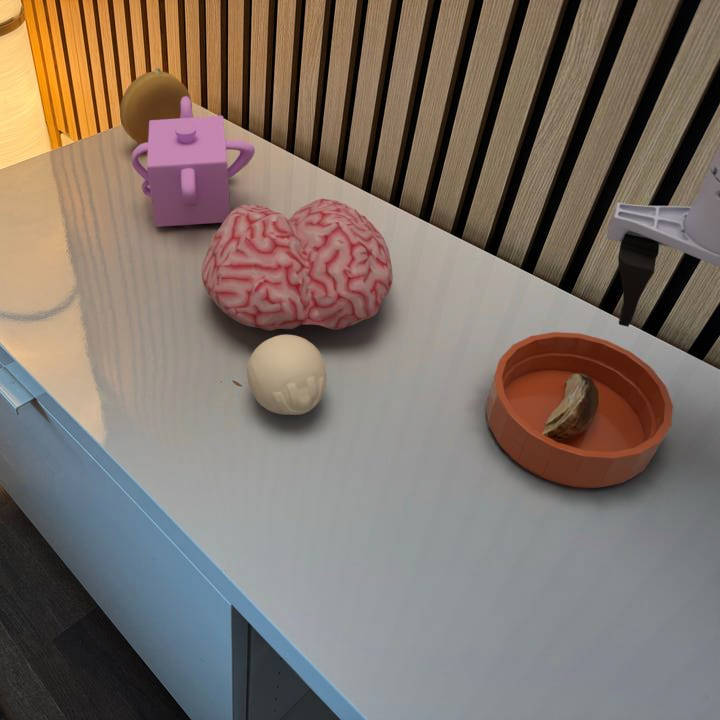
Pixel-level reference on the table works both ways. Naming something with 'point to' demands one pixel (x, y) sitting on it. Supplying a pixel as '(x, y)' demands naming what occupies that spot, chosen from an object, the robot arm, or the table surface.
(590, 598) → the table surface
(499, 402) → the bowl
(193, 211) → the teapot
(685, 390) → the table surface
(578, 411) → the oyster shell
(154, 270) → the table surface
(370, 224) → the brain
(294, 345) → the cream ball
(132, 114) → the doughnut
